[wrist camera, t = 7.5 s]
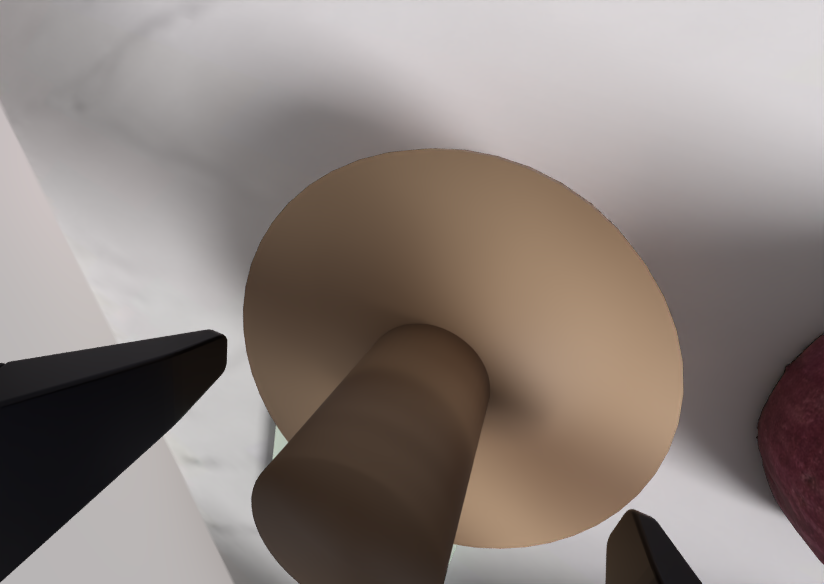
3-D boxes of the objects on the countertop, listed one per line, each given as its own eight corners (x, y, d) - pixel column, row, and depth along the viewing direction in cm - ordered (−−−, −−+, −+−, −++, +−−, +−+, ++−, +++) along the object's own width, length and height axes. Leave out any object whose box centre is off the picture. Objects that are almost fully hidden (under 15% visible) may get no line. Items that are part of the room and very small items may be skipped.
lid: (561, 580, 12) (566, 869, 7) (252, 433, 14) (101, 579, 9) (789, 233, 7) (1229, 409, 3) (275, 97, 9) (2, 55, 5)
